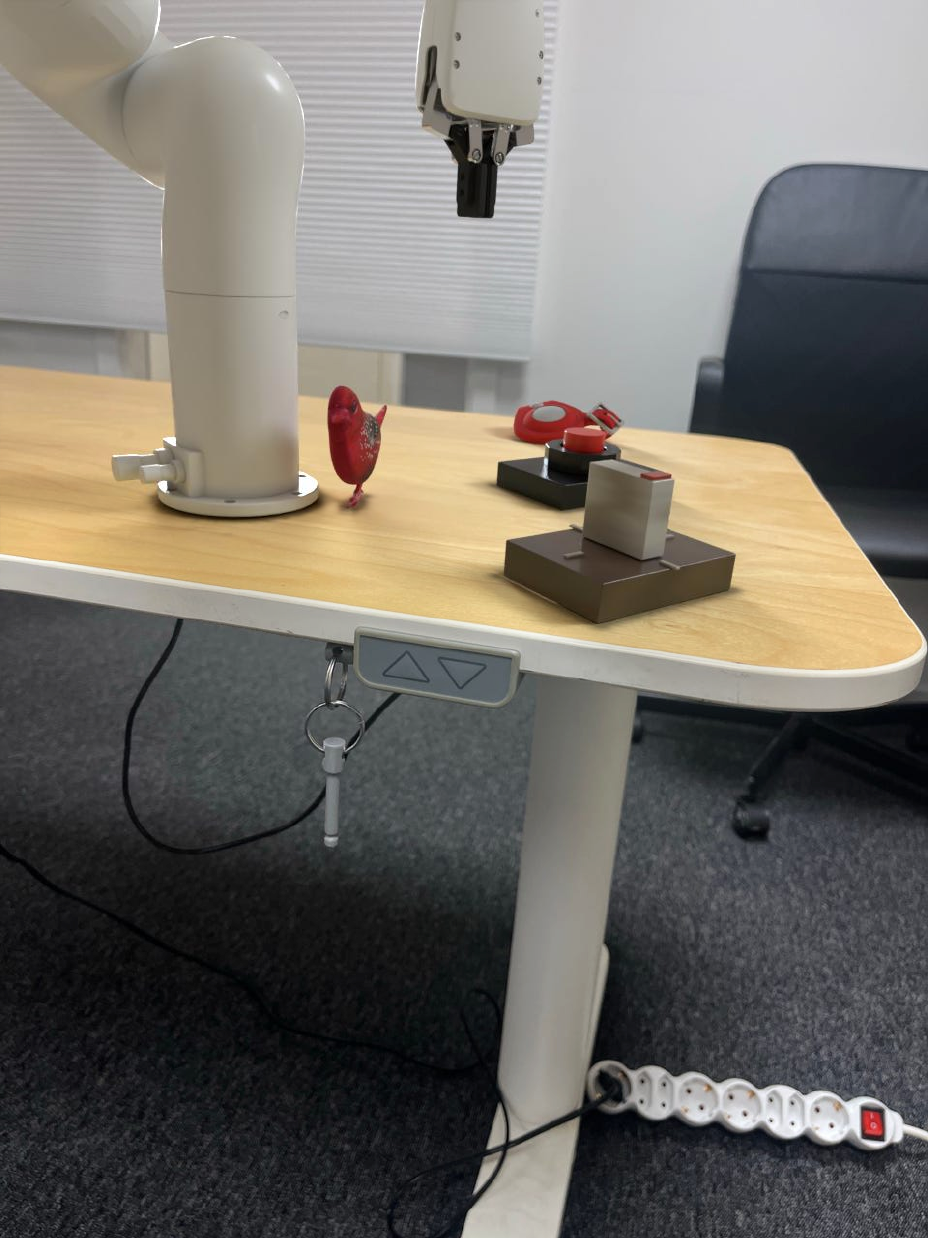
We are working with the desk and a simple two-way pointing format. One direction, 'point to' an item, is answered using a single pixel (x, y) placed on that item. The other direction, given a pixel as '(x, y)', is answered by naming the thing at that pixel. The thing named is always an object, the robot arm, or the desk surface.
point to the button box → (556, 474)
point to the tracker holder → (561, 421)
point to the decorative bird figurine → (353, 439)
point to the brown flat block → (615, 572)
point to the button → (584, 439)
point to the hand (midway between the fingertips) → (475, 216)
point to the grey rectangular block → (628, 508)
